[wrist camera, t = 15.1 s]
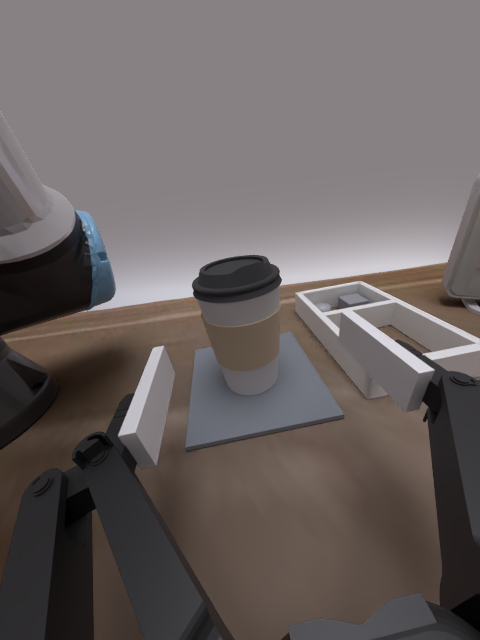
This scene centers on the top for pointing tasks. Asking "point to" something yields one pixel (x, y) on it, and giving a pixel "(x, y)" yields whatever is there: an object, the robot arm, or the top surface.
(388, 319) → the white rectangular frame
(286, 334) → the grey mat
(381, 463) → the top surface
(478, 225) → the network device
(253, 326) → the coffee cup
